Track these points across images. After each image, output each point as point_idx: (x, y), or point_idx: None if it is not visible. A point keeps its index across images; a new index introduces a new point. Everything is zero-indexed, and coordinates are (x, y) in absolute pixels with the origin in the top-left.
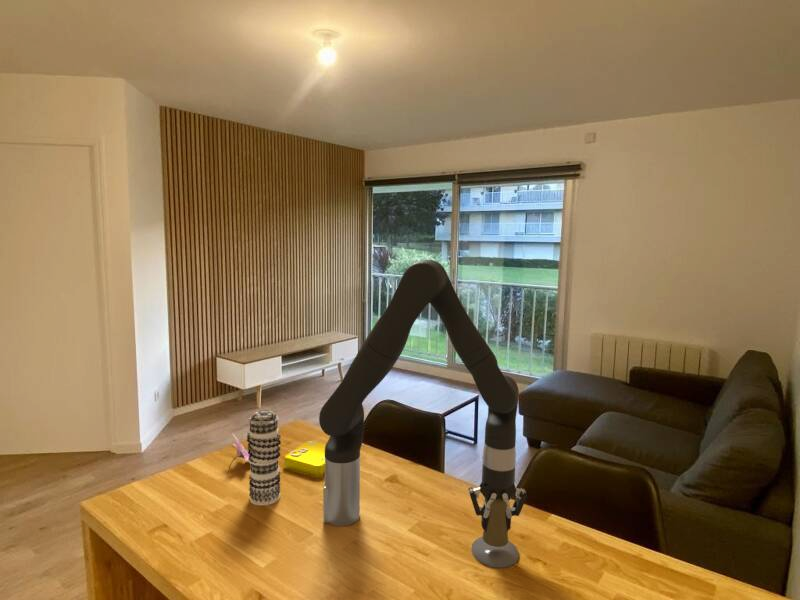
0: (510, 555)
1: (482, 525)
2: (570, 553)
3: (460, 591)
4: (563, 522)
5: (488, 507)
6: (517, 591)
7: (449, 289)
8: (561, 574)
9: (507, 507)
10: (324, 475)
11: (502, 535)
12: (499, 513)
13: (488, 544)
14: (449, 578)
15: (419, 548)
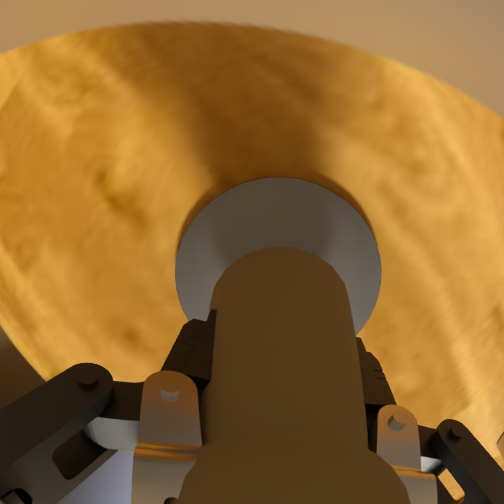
0: (222, 237)
1: (382, 370)
2: (20, 218)
3: (484, 114)
4: (20, 345)
5: (420, 487)
6: (287, 39)
7: None
8: (76, 114)
9: (173, 479)
10: (464, 497)
11: (267, 281)
12: (299, 430)
13: (340, 279)
14: (495, 184)
15: (495, 337)
